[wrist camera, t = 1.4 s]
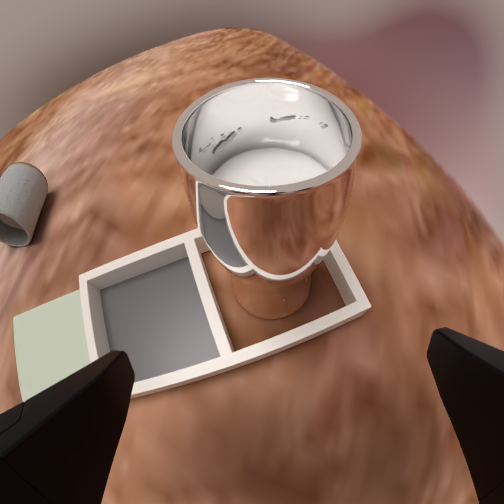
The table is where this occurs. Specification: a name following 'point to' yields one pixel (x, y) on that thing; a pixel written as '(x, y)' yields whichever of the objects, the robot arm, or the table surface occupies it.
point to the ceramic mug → (20, 202)
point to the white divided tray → (156, 321)
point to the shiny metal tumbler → (268, 183)
